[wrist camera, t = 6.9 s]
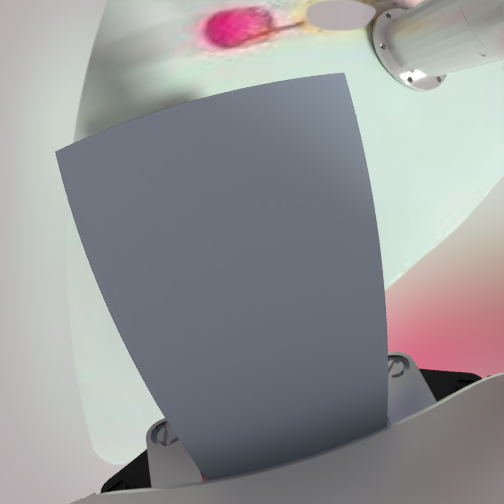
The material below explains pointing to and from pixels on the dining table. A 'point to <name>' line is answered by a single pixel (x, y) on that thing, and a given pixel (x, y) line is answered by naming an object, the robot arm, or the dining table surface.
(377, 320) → the panel
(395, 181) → the dining table surface
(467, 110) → the dining table surface
